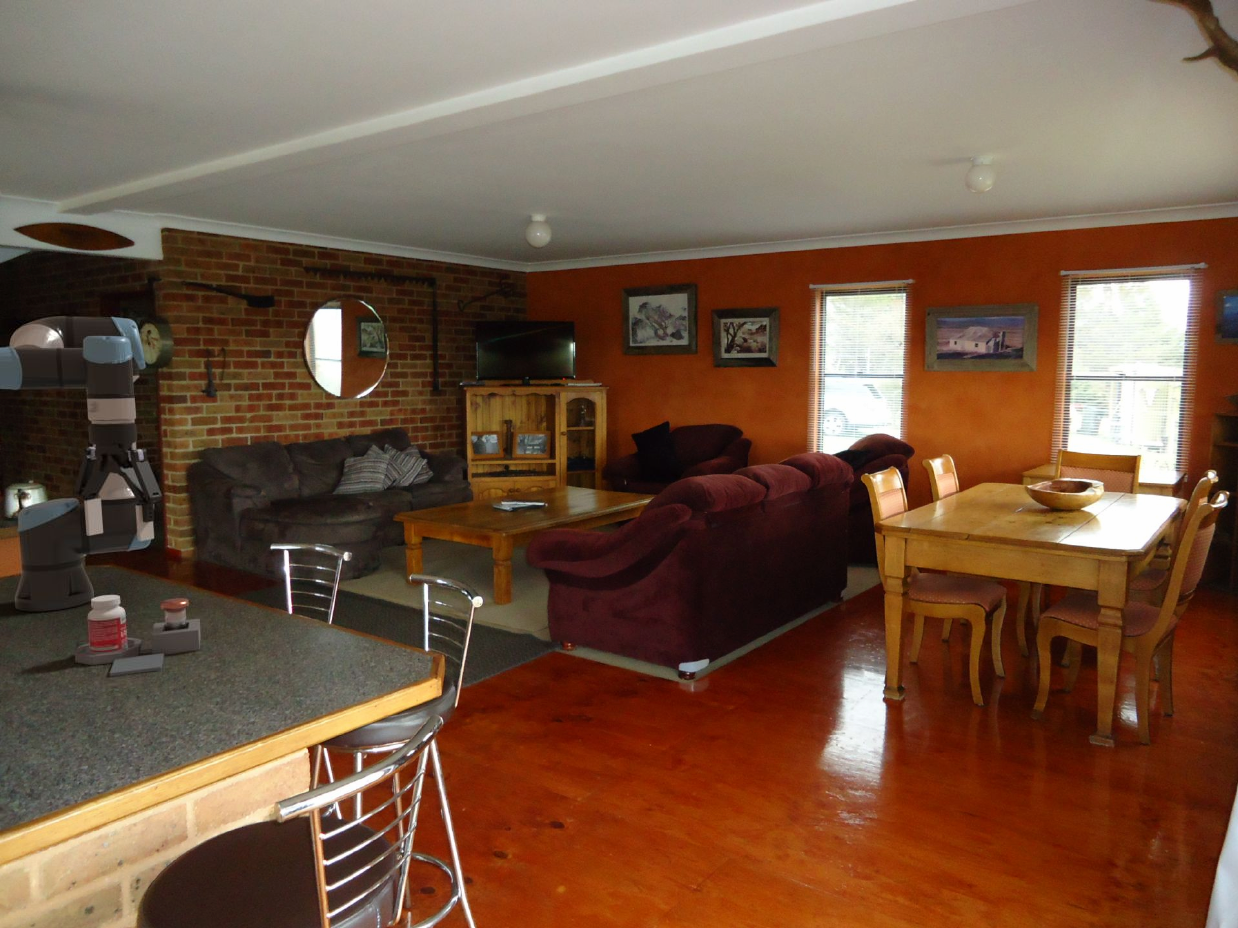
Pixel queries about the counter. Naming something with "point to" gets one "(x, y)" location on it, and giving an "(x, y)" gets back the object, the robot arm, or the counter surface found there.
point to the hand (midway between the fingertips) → (120, 537)
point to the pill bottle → (107, 625)
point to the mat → (137, 664)
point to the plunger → (175, 613)
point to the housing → (149, 644)
